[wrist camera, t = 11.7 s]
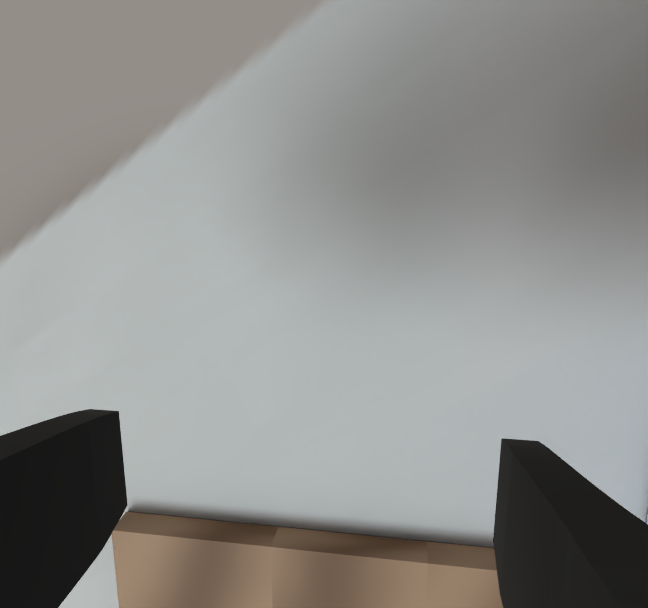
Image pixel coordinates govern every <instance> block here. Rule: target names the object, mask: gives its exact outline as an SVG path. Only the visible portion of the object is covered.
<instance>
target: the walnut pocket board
mask: <svg viewBox="0 0 648 608" xmlns="http://www.w3.org/2000/svg"><path fill="white" fill-rule="evenodd" d="M112 541H113V551H114V561H115V571H116V581H117V590H118V600H119V608H503V605H502V601H501V597H500V591H499V584H498V576H497V568H496V560H495V551H494V548H487V547H477V546H467V545H457V544H447V543H437V542H427V541H417V540H407V539H397V538H387V537H377V536H367V535H357V534H346V533H336V532H326V531H316V530H306V529H296V528H286V527H276V526H266V525H256V524H246V523H236V522H226V521H216V520H206V519H195V518H185V517H175V516H165V515H155V514H145V513H135V512H126V513H125V514H124V516H123V517H122V518H121V519H120V520H119V522H118V523H117V525H116V527H115V529H114V530H113V532H112Z"/></svg>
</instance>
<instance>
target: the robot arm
mask: <svg viewBox="0 0 648 608" xmlns="http://www.w3.org/2000/svg"><path fill="white" fill-rule="evenodd" d="M126 507H127V496H126V486H125V475H124V464H123V453H122V443H121V432H120V421H119V411H107V410H93V409H89V410H83V411H78V412H74V413H70V414H66V415H63V416H59V417H56V418H53V419H50V420H46V421H43V422H40V423H37V424H34V425H31V426H28V427H25V428H22V429H20V430H17V431H14V432H11V433H8V434H5V435H2V436H0V608H58V607H59V606H60V604H61V603H62V602H63V601H64V599H65V598H66V597H67V595H68V594H69V593H70V592H71V590H72V589H73V588H74V586H75V585H76V584H77V582H78V581H79V580H80V579H81V577H82V576H83V575H84V573H85V572H86V571H87V569H88V568H89V567H90V565H91V564H92V563H93V561H94V560H95V559H96V557H97V556H98V555H99V553H100V552H101V550H102V549H103V547H104V546H105V544H106V542H107V541H108V539H109V537H110V535H111V534H112V532H113V530H114V529H115V527H116V525H117V523H118V521H119V519H120V518H121V516H122V514H123V512H124V510H125V508H126ZM493 543H494V551H495V560H496V568H497V576H498V584H499V591H500V597H501V601H502V605H503V608H648V516H647V522H646V523H645V522H643V521H642V520H640V519H639V518H637V517H636V516H635V515H633V514H632V513H630V512H629V511H628V510H626V509H625V508H623V507H622V506H621V505H619V504H618V503H617V502H615V501H614V500H613V499H611V498H610V497H609V496H607V495H606V494H605V493H604V492H602V491H601V490H600V489H598V488H597V487H596V486H595V485H593V484H592V483H591V482H589V481H588V480H587V479H586V478H584V477H583V476H582V475H581V474H580V473H578V472H577V471H576V470H575V469H573V468H572V467H571V466H570V465H568V464H567V463H566V462H565V461H564V460H562V459H561V458H560V457H559V456H557V455H556V454H555V453H554V452H552V451H551V450H550V449H549V448H547V447H546V446H545V445H543V444H542V443H540V442H539V441H529V440H515V439H502V441H501V453H500V465H499V477H498V490H497V502H496V514H495V526H494V538H493Z"/></svg>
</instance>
